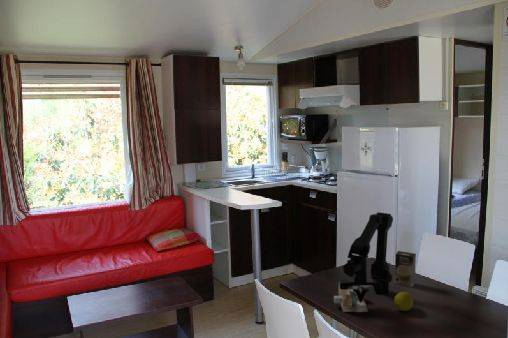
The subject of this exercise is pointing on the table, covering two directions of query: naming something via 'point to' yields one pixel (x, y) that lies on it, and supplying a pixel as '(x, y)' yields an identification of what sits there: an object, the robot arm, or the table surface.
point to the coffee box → (405, 268)
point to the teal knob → (339, 299)
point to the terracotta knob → (353, 292)
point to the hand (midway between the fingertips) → (360, 302)
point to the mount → (347, 302)
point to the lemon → (403, 301)
